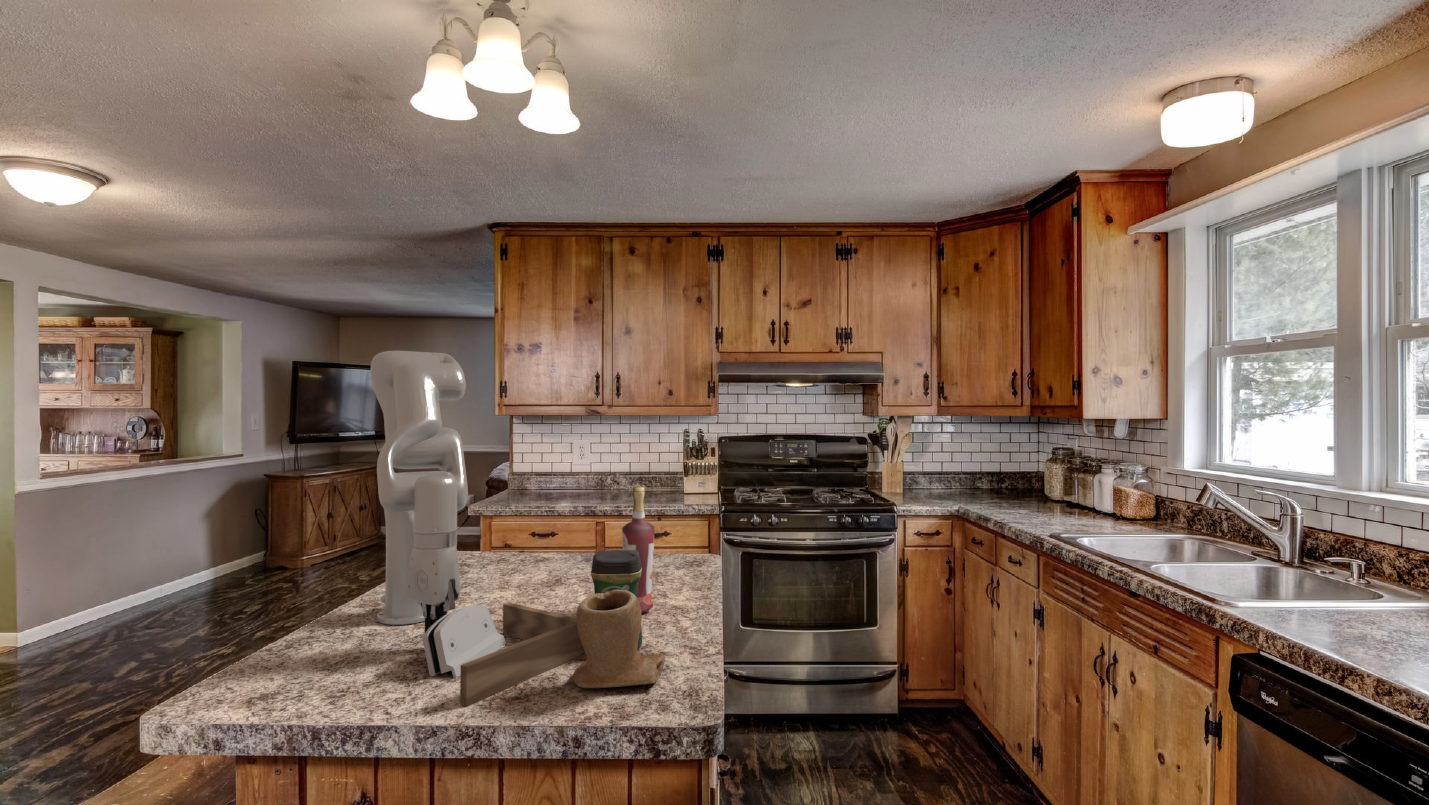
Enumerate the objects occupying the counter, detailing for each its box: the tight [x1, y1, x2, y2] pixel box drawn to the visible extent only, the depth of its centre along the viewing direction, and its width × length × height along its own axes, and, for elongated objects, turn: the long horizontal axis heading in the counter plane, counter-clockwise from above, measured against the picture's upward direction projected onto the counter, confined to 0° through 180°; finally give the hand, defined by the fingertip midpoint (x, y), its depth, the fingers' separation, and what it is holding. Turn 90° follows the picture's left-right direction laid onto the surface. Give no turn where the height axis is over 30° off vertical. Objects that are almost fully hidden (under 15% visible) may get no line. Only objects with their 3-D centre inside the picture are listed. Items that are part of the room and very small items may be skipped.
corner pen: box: [459, 602, 586, 708], centre depth 114 cm, size 22×26×6 cm
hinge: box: [422, 605, 507, 679], centre depth 117 cm, size 17×5×10 cm, turn 168°
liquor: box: [621, 486, 656, 614], centre depth 145 cm, size 7×7×28 cm
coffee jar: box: [590, 549, 643, 651], centre depth 122 cm, size 10×8×19 cm
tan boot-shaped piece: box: [572, 590, 666, 689], centre depth 106 cm, size 15×12×15 cm
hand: (434, 637), depth 121 cm, fingers closed
